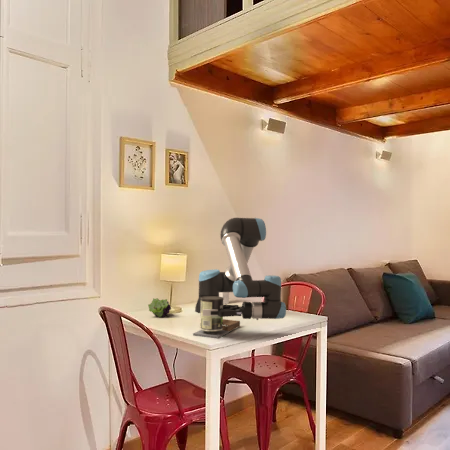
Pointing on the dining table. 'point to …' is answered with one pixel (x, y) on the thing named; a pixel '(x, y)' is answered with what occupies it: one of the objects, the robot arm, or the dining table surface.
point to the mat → (211, 333)
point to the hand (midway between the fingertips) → (202, 310)
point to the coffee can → (211, 321)
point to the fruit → (159, 307)
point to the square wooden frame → (230, 324)
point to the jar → (224, 297)
